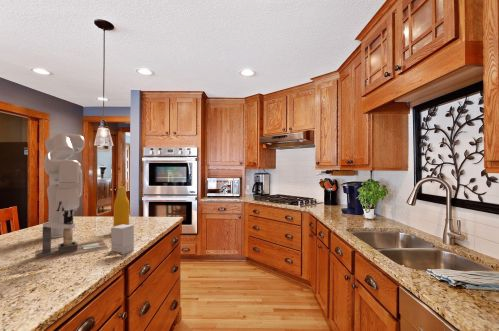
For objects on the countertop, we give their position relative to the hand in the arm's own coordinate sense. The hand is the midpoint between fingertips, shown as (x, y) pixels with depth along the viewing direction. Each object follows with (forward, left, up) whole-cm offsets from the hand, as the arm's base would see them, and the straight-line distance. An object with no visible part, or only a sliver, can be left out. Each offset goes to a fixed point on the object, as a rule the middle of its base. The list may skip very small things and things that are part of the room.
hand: (68, 224), depth 116 cm
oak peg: (-5, 0, -13) cm, 14 cm away
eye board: (-5, +2, -15) cm, 16 cm away
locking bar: (0, -4, -1) cm, 4 cm away
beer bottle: (-33, +30, -15) cm, 47 cm away
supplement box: (+10, +21, -15) cm, 28 cm away
